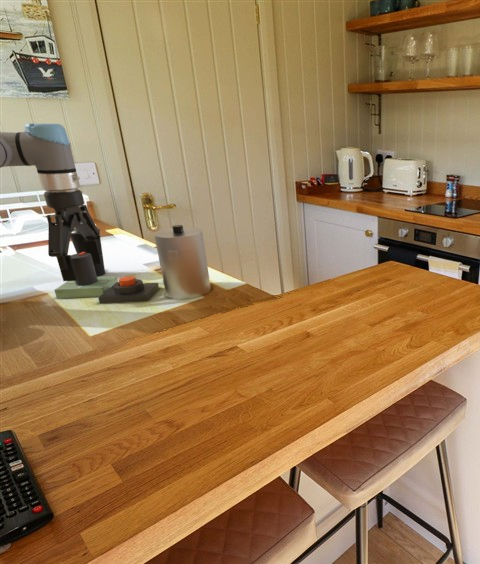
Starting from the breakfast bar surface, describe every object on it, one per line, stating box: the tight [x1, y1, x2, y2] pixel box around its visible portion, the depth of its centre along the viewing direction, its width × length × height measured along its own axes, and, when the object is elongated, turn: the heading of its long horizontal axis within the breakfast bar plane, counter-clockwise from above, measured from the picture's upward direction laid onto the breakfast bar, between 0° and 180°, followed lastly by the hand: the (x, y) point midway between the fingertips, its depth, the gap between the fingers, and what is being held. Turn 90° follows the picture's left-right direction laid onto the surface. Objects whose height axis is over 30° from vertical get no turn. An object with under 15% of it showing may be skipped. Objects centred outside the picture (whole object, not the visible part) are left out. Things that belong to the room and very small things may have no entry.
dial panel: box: [54, 275, 119, 300], centre depth 113 cm, size 11×9×3 cm
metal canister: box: [153, 224, 212, 300], centre depth 111 cm, size 14×11×19 cm
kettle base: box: [97, 278, 160, 304], centre depth 111 cm, size 11×9×4 cm
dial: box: [70, 252, 98, 285], centre depth 111 cm, size 5×5×8 cm
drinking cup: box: [70, 227, 106, 277], centre depth 123 cm, size 8×8×20 cm
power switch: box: [118, 275, 136, 286], centre depth 110 cm, size 4×4×2 cm
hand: (84, 271), depth 111 cm, fingers open, 13 cm apart
